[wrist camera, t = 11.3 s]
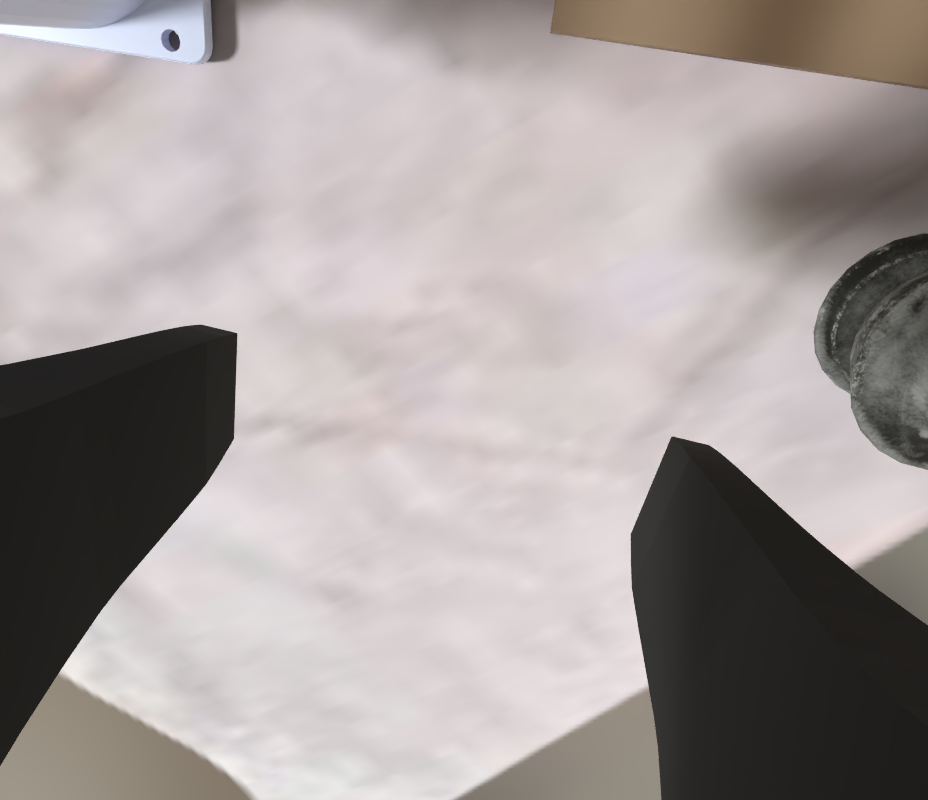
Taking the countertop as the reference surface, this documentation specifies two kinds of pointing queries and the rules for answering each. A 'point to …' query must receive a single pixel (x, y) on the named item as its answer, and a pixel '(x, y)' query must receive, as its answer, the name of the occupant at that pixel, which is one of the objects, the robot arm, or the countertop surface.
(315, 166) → the countertop surface
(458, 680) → the countertop surface
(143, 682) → the countertop surface
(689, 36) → the board
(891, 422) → the salt shaker
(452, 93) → the countertop surface
